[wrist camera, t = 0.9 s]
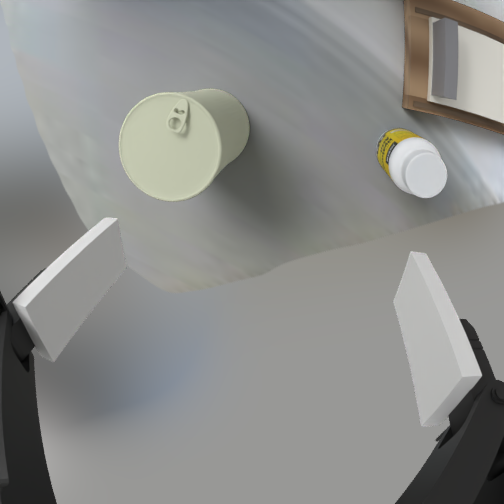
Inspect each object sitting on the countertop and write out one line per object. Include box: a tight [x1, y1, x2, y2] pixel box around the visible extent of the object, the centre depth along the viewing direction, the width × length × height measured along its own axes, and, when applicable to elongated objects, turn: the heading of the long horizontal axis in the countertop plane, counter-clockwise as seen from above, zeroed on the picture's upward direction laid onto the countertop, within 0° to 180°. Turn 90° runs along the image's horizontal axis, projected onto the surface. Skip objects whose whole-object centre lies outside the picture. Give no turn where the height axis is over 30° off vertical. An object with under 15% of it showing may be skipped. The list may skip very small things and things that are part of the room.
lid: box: [427, 17, 504, 123], centre depth 20 cm, size 9×10×4 cm
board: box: [402, 0, 504, 135], centre depth 21 cm, size 14×22×2 cm, turn 90°
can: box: [119, 88, 250, 202], centre depth 27 cm, size 9×9×12 cm
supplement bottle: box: [376, 128, 447, 198], centre depth 26 cm, size 5×5×10 cm
